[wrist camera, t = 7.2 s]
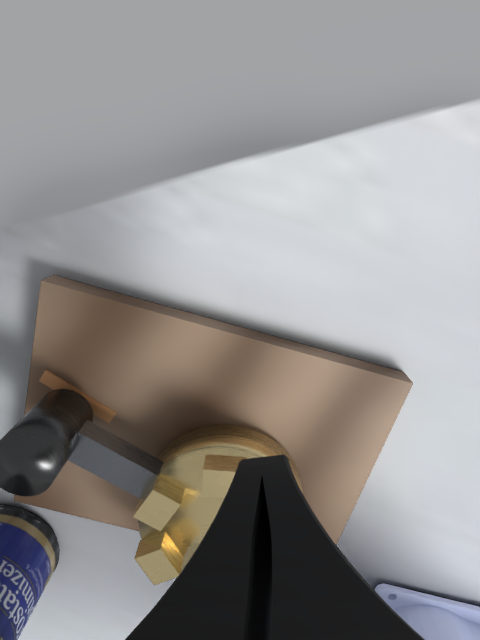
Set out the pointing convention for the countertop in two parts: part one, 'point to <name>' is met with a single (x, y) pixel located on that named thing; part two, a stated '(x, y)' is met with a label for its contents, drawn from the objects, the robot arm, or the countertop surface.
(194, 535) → the gold and black piece
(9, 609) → the pill bottle
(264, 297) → the countertop surface
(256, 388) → the wooden board
